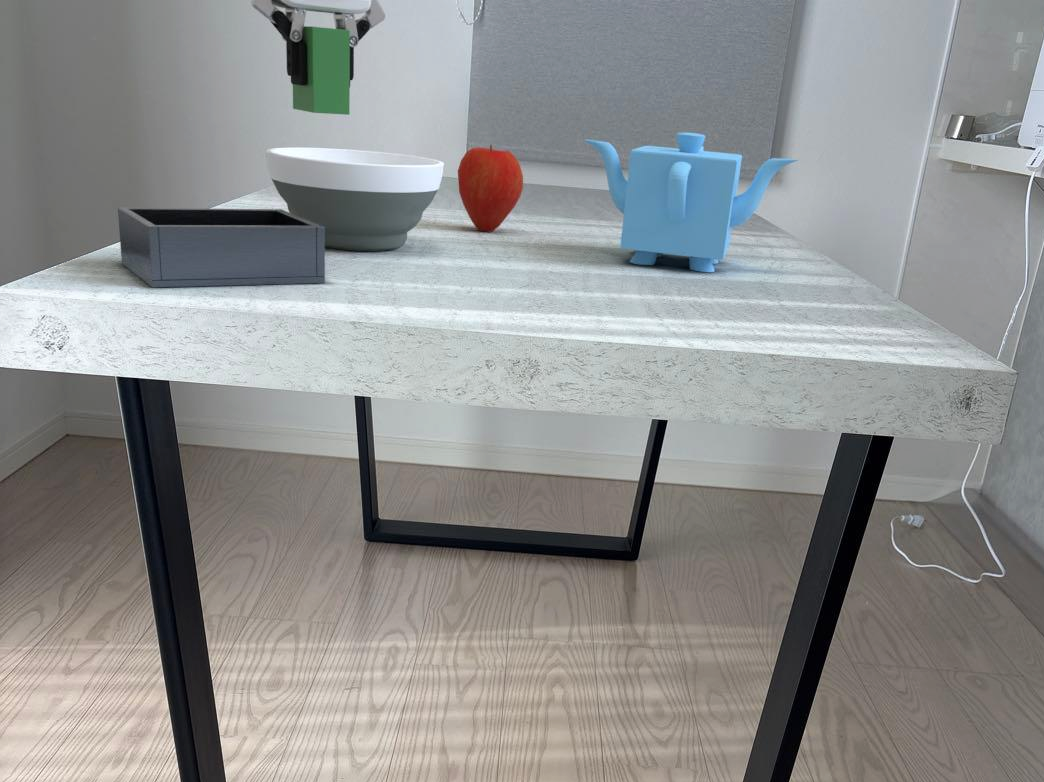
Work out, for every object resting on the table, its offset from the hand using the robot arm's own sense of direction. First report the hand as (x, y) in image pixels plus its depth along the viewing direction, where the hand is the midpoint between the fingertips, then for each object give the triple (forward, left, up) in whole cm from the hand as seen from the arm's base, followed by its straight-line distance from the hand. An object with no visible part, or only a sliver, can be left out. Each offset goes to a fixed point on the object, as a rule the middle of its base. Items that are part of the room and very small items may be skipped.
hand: (320, 84), depth 111 cm
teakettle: (+41, -12, -17) cm, 46 cm away
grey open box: (-15, -14, -17) cm, 27 cm away
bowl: (+5, +2, -17) cm, 18 cm away
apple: (+28, +12, -17) cm, 35 cm away
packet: (0, 0, -3) cm, 3 cm away
